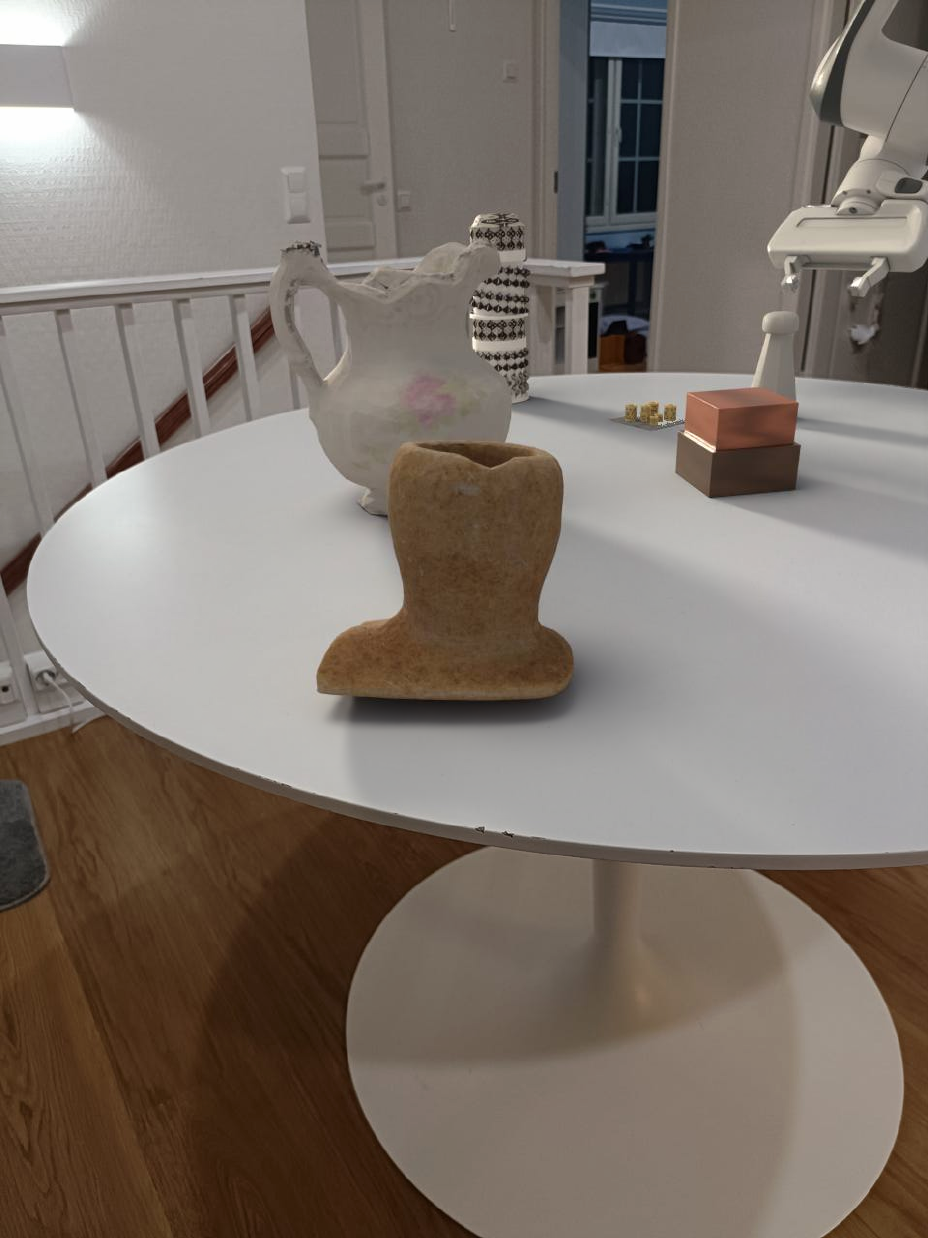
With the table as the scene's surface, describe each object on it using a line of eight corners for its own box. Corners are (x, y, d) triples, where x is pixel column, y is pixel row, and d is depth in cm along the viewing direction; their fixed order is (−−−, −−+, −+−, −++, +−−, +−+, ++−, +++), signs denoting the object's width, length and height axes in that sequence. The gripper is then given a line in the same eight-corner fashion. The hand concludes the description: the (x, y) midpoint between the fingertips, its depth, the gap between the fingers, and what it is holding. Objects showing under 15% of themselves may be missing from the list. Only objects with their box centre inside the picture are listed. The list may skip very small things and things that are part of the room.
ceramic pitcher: (352, 563, 77) (333, 259, 65) (265, 494, 91) (236, 233, 79) (546, 511, 88) (561, 241, 75) (442, 456, 102) (440, 222, 89)
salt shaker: (737, 418, 114) (747, 313, 108) (761, 410, 117) (772, 307, 111) (778, 425, 110) (791, 316, 104) (802, 416, 113) (816, 310, 107)
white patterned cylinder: (464, 394, 134) (457, 214, 123) (523, 389, 136) (521, 211, 125) (475, 407, 126) (469, 215, 115) (538, 401, 128) (537, 212, 117)
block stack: (754, 465, 95) (763, 385, 91) (795, 489, 87) (806, 403, 83) (675, 472, 94) (680, 391, 90) (708, 497, 86) (716, 410, 82)
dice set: (622, 419, 116) (623, 405, 115) (651, 413, 118) (651, 399, 117) (650, 426, 112) (650, 411, 111) (678, 420, 114) (679, 405, 114)
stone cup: (573, 632, 61) (576, 416, 54) (574, 726, 50) (578, 471, 44) (359, 630, 63) (337, 420, 56) (316, 720, 52) (283, 474, 46)
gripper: (788, 188, 119) (741, 271, 117) (946, 182, 105) (894, 277, 103) (801, 222, 123) (756, 303, 122) (954, 221, 109) (904, 312, 108)
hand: (820, 291), depth 112 cm, fingers open, 8 cm apart
